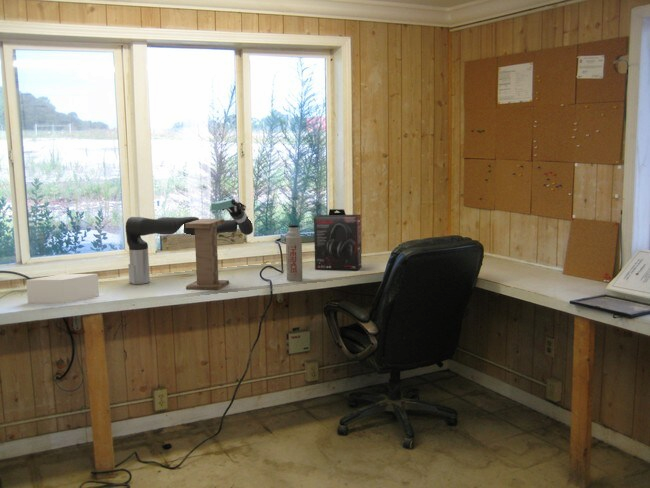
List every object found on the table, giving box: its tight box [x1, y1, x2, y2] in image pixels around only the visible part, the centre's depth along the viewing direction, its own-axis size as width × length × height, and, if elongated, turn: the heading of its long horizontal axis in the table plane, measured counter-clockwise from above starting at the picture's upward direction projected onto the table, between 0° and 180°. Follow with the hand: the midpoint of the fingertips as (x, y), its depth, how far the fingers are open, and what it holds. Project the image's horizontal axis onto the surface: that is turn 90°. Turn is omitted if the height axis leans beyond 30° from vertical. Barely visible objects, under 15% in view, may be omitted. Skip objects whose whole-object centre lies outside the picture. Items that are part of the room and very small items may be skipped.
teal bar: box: [210, 198, 236, 211], centre depth 339 cm, size 26×4×4 cm, turn 169°
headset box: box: [313, 208, 362, 271], centre depth 361 cm, size 24×13×33 cm, turn 77°
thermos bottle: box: [285, 224, 303, 282], centre depth 331 cm, size 8×8×28 cm
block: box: [25, 273, 100, 304], centre depth 296 cm, size 15×30×11 cm, turn 114°
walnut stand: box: [185, 218, 230, 291], centre depth 319 cm, size 20×16×32 cm
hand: (228, 200), depth 347 cm, fingers closed on teal bar, 3 cm apart
